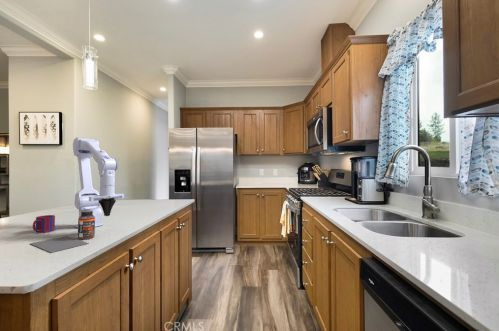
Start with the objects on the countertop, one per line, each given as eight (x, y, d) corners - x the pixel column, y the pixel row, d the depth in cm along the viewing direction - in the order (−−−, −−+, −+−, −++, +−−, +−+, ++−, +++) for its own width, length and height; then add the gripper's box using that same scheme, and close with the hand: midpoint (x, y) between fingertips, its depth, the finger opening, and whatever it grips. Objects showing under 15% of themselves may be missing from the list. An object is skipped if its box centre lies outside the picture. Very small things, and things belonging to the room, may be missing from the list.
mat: (66, 236, 103) (66, 235, 103) (88, 243, 94) (88, 243, 94) (30, 244, 93) (30, 243, 93) (50, 253, 83) (50, 252, 83)
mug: (58, 229, 114) (58, 215, 114) (39, 235, 104) (39, 219, 104) (44, 229, 115) (45, 214, 115) (24, 235, 105) (24, 219, 105)
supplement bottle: (81, 241, 97) (82, 212, 97) (74, 238, 100) (75, 211, 100) (97, 237, 102) (98, 210, 102) (90, 235, 105) (91, 209, 106)
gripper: (95, 186, 100) (94, 219, 100) (128, 184, 113) (127, 214, 113) (86, 185, 104) (85, 217, 104) (119, 184, 116) (118, 212, 116)
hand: (106, 215), depth 109 cm, fingers closed
